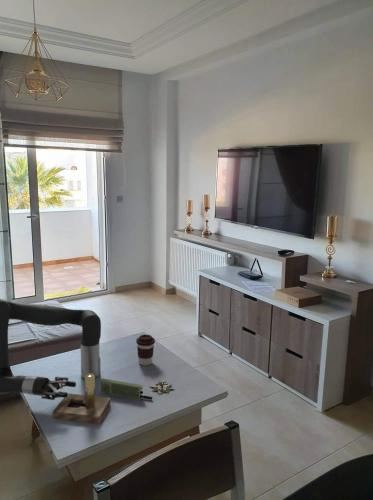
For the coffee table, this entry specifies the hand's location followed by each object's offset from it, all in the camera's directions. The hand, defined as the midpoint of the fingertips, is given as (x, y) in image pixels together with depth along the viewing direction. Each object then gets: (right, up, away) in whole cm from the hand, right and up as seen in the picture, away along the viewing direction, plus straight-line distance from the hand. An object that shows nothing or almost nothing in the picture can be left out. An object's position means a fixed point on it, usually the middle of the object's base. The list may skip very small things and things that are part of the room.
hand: (71, 389), depth 171 cm
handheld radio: (+21, -8, +14) cm, 27 cm away
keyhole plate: (+5, -10, +1) cm, 11 cm away
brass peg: (+8, -10, +1) cm, 13 cm away
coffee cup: (+27, -2, +47) cm, 54 cm away
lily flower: (+37, -8, +22) cm, 44 cm away
